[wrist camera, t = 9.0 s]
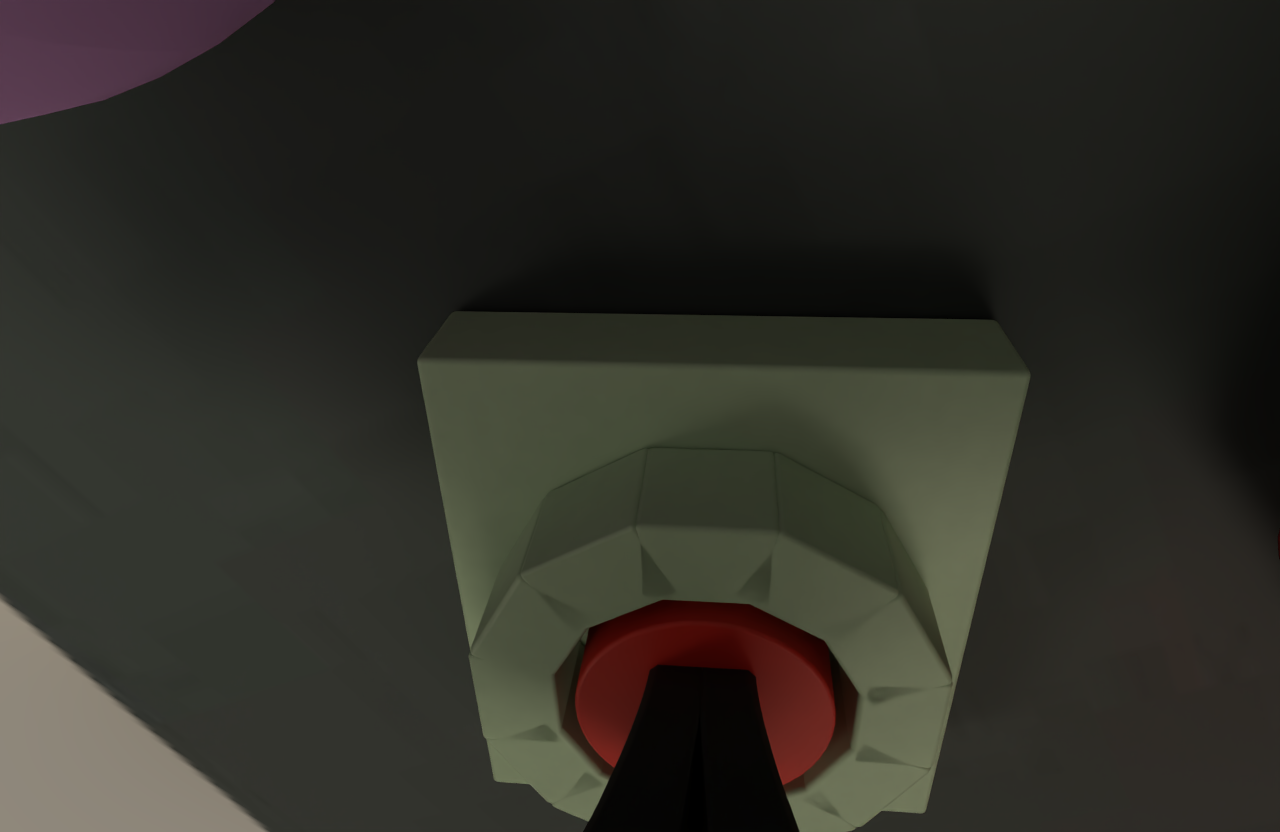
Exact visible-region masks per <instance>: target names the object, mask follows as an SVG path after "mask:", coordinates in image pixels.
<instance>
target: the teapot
mask: <svg viewBox="0 0 1280 832" xmlns="http://www.w3.org/2000/svg"><path fill="white" fill-rule="evenodd" d="M274 2H275V0H0V124H4V123H9V122H13V121H18V120H22V119H27V118H31V117H36V116H40V115H45V114H49V113H53V112H57V111H61V110H66V109H70V108H74V107H78V106H82V105H86V104H90V103H94V102H98V101H102V100H106V99H108V98H110V97H113V96H115V95H118V94H120V93H123V92H125V91H128V90H130V89H133V88H135V87H138V86H140V85H142V84H145V83H147V82H150V81H152V80H155V79H157V78H160V77H162V76H163V75H165V74H167V73H169V72H170V71H172V70H174V69H176V68H177V67H179V66H181V65H183V64H184V63H186V62H188V61H190V60H192V59H193V58H195V57H197V56H199V55H200V54H202V53H204V52H206V51H207V50H209V49H211V48H213V47H214V46H216V45H218V44H219V43H221V42H222V41H223V40H225V39H226V38H227V37H229V36H230V35H231V34H233V33H234V32H235V31H237V30H238V29H239V28H241V27H242V26H243V25H245V24H246V23H247V22H249V21H250V20H251V19H252V18H254V17H255V16H256V15H258V14H259V13H260V12H262V11H263V10H264V9H266V8H267V7H268V6H270V5H271V4H272V3H274Z"/></svg>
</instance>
